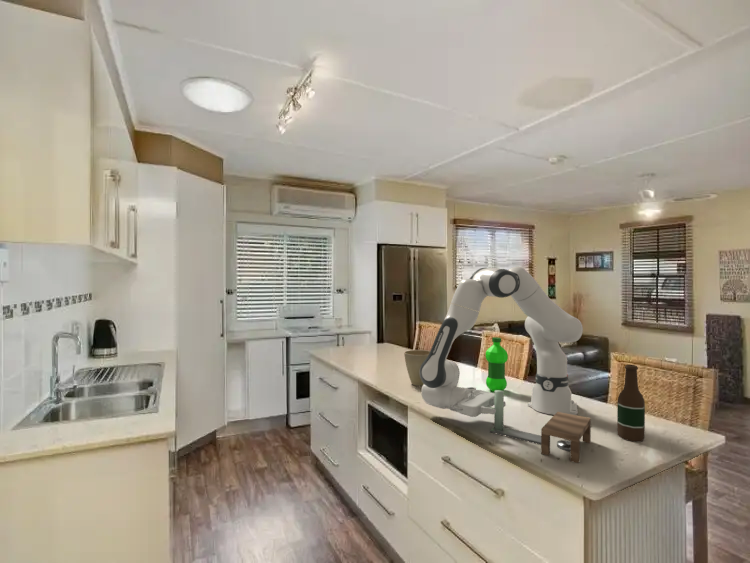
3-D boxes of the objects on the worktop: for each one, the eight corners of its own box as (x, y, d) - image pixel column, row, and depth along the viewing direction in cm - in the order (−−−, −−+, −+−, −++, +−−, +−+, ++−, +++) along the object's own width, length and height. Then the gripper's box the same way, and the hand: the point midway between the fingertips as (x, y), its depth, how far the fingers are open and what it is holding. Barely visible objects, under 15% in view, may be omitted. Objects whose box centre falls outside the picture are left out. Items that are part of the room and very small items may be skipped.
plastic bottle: (482, 387, 192) (482, 336, 192) (503, 387, 192) (503, 336, 193) (488, 393, 182) (489, 339, 182) (511, 393, 182) (511, 339, 183)
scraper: (489, 432, 135) (490, 392, 135) (496, 427, 139) (496, 388, 139) (542, 445, 124) (542, 401, 124) (547, 439, 129) (547, 397, 129)
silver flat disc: (559, 443, 127) (559, 438, 127) (578, 447, 123) (578, 443, 123) (555, 448, 122) (555, 444, 122) (574, 453, 119) (574, 449, 119)
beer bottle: (614, 431, 136) (615, 362, 136) (641, 435, 133) (641, 364, 133) (619, 440, 129) (620, 366, 129) (647, 443, 126) (648, 368, 126)
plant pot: (418, 378, 209) (418, 348, 209) (439, 384, 197) (440, 352, 197) (397, 383, 199) (397, 351, 199) (418, 389, 188) (418, 356, 188)
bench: (557, 433, 134) (557, 411, 134) (590, 441, 127) (590, 418, 127) (541, 453, 118) (541, 428, 118) (578, 463, 112) (578, 436, 112)
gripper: (449, 398, 136) (488, 406, 127) (474, 386, 152) (510, 392, 144) (449, 416, 136) (488, 425, 127) (473, 402, 152) (509, 409, 143)
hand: (500, 407), depth 136 cm, fingers open, 8 cm apart
